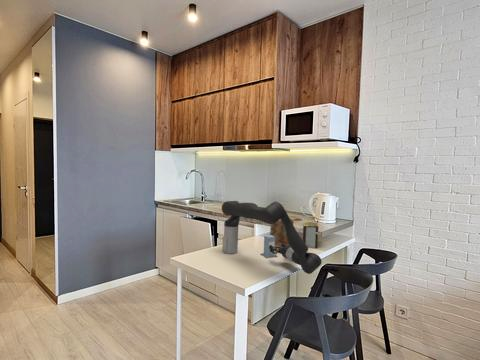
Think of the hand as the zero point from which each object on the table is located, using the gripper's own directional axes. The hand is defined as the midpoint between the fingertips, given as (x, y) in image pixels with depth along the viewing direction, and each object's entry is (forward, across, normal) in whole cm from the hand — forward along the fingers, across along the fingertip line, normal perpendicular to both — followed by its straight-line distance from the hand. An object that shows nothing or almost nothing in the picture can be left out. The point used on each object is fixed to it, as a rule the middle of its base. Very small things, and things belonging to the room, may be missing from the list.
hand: (275, 246), depth 170 cm
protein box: (+18, -42, +8) cm, 47 cm away
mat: (+7, 0, +8) cm, 11 cm away
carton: (+7, 0, +8) cm, 11 cm away
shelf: (+15, -18, +8) cm, 25 cm away
